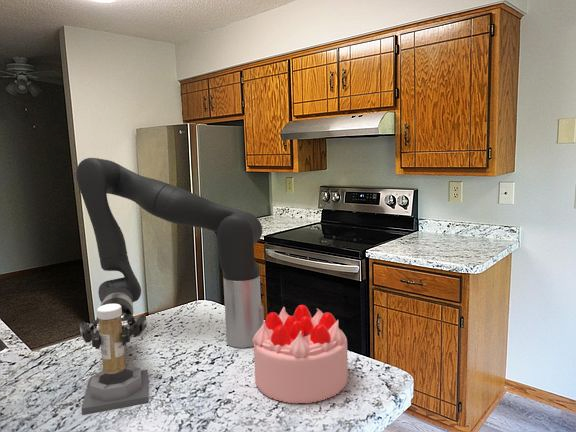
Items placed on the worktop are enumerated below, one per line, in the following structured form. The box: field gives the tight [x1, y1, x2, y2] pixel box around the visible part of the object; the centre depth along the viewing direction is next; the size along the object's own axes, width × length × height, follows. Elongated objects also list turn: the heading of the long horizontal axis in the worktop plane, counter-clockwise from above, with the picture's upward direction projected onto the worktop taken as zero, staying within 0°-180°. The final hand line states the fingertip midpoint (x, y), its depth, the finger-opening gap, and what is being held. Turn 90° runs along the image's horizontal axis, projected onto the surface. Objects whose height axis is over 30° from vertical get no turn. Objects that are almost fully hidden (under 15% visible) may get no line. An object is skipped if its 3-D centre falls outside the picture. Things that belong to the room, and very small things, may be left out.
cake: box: [252, 304, 349, 404], centre depth 95 cm, size 20×20×14 cm
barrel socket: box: [80, 364, 149, 415], centre depth 92 cm, size 12×12×4 cm
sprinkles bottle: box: [96, 304, 127, 374], centre depth 91 cm, size 5×5×13 cm
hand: (110, 342), depth 88 cm, fingers closed on sprinkles bottle, 4 cm apart
